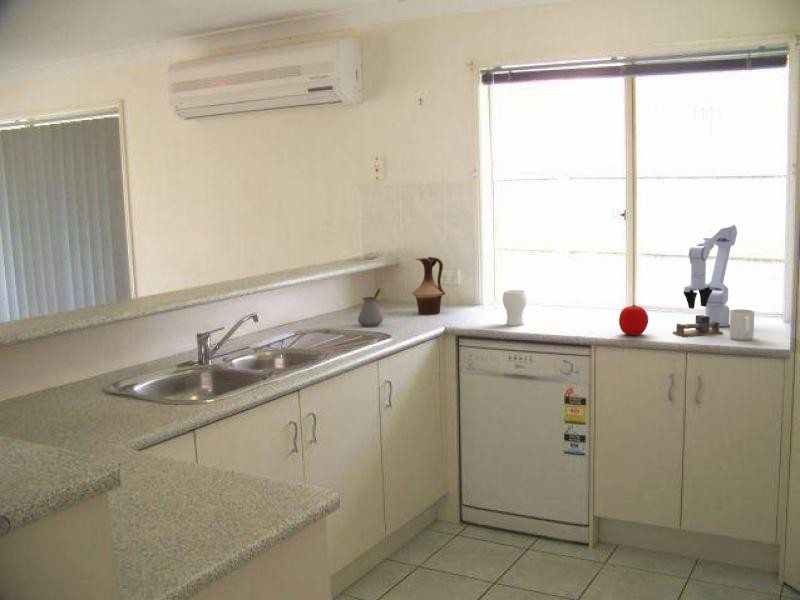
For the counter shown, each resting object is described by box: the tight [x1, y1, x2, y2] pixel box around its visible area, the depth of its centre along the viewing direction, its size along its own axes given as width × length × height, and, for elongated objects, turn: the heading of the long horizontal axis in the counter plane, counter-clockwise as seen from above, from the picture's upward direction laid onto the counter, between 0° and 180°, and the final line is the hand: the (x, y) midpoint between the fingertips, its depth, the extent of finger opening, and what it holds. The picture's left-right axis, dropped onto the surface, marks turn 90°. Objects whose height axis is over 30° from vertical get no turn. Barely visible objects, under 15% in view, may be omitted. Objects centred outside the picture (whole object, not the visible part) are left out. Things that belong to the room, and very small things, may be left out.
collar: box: [694, 314, 710, 332], centre depth 351 cm, size 3×5×6 cm, turn 12°
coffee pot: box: [357, 288, 384, 328], centre depth 394 cm, size 21×12×15 cm, turn 163°
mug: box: [729, 308, 755, 341], centre depth 337 cm, size 12×9×11 cm
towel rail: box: [672, 321, 724, 338], centre depth 351 cm, size 18×8×4 cm, turn 102°
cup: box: [502, 289, 528, 327], centre depth 382 cm, size 11×11×15 cm
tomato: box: [618, 304, 649, 336], centre depth 352 cm, size 12×12×13 cm
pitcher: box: [411, 256, 447, 316], centre depth 417 cm, size 18×17×28 cm
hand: (697, 307), depth 354 cm, fingers open, 7 cm apart
